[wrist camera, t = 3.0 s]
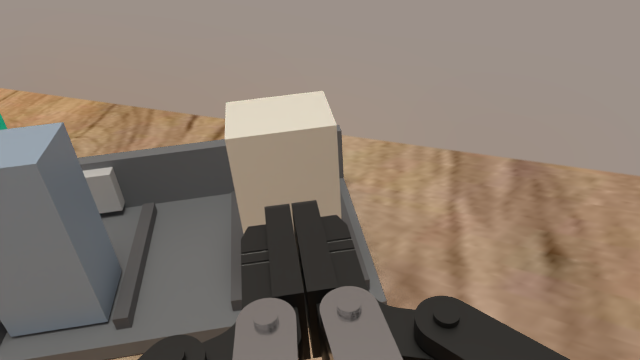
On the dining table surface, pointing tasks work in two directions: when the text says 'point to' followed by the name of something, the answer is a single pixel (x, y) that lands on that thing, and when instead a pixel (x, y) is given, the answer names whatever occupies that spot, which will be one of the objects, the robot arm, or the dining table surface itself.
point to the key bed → (168, 252)
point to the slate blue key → (50, 236)
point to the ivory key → (282, 154)
